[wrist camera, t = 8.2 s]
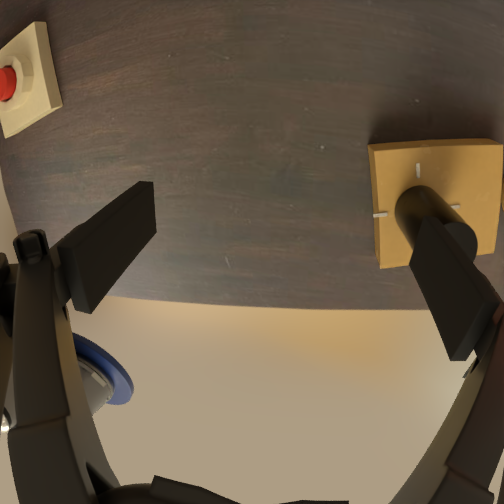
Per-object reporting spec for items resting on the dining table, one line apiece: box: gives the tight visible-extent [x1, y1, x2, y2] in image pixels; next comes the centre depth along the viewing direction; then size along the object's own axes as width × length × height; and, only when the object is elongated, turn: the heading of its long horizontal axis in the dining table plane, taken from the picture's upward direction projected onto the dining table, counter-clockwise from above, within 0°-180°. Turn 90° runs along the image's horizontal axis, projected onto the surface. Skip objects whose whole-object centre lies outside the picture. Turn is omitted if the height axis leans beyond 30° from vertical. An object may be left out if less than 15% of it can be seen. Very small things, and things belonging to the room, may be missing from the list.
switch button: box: [0, 67, 17, 101], centre depth 23 cm, size 4×4×2 cm
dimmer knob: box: [394, 185, 478, 262], centre depth 23 cm, size 5×5×8 cm
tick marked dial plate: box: [368, 138, 503, 269], centre depth 27 cm, size 15×12×3 cm
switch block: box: [0, 21, 63, 138], centre depth 25 cm, size 10×12×4 cm
